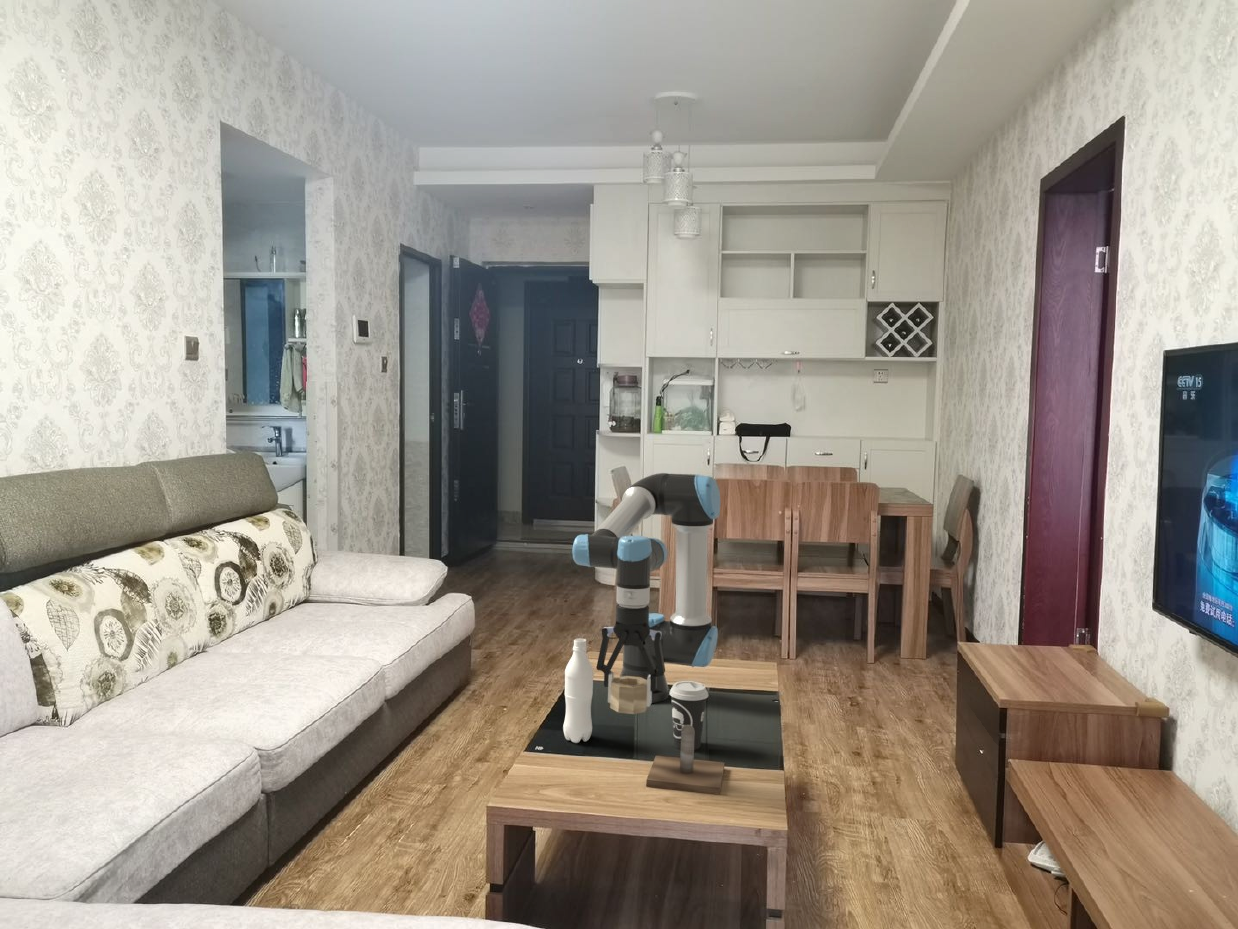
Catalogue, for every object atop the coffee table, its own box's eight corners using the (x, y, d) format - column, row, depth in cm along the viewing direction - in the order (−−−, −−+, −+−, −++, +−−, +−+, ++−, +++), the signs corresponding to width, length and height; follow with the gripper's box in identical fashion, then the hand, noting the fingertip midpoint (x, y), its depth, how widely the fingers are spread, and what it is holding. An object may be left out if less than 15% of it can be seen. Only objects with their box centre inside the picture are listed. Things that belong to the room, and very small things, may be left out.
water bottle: (557, 739, 222) (559, 639, 221) (577, 731, 228) (580, 634, 226) (577, 747, 217) (580, 645, 216) (597, 739, 223) (600, 640, 221)
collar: (615, 700, 210) (616, 674, 209) (649, 703, 208) (651, 678, 208) (607, 711, 202) (608, 685, 201) (643, 715, 200) (644, 689, 200)
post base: (655, 761, 210) (657, 711, 209) (724, 769, 207) (726, 718, 206) (646, 786, 196) (648, 732, 195) (719, 794, 193) (721, 740, 192)
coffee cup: (704, 755, 215) (706, 693, 214) (664, 750, 217) (667, 690, 216) (708, 740, 224) (710, 681, 223) (670, 736, 226) (672, 678, 225)
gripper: (583, 604, 202) (581, 703, 203) (676, 611, 198) (672, 712, 199) (591, 598, 209) (588, 693, 211) (680, 604, 205) (677, 702, 206)
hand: (629, 702), depth 205 cm, fingers closed on collar, 8 cm apart
